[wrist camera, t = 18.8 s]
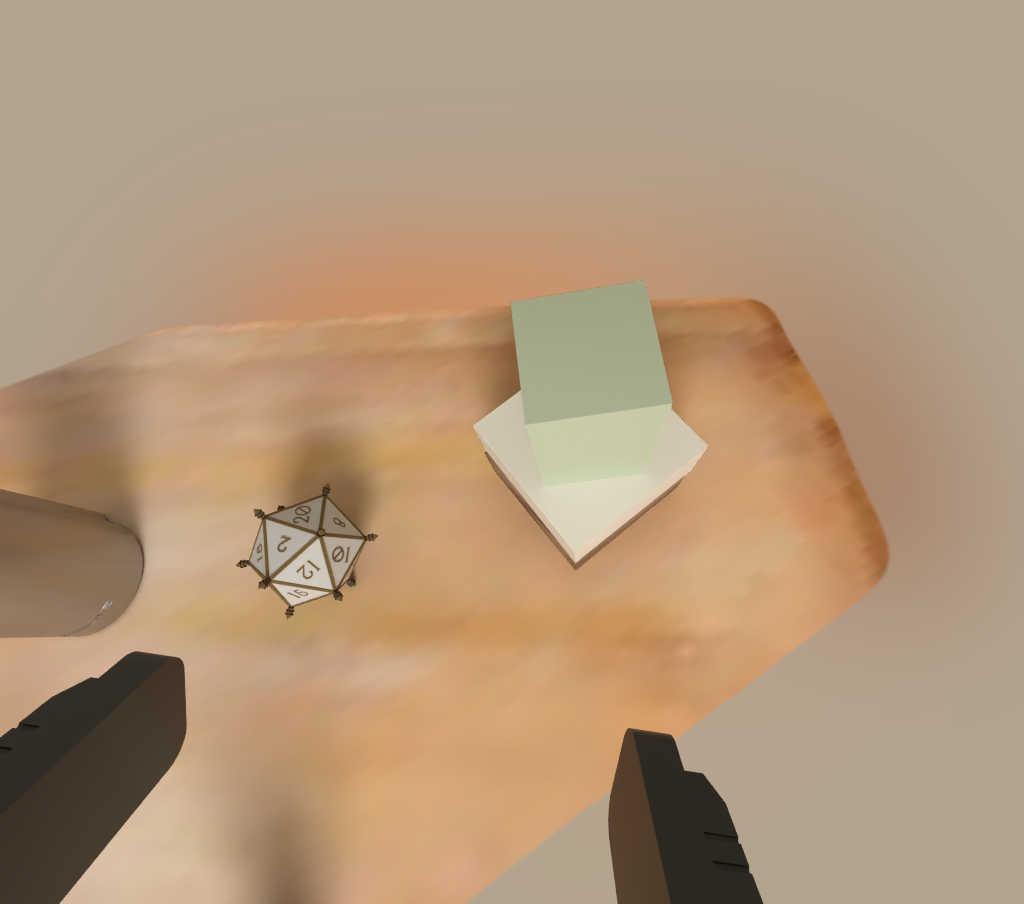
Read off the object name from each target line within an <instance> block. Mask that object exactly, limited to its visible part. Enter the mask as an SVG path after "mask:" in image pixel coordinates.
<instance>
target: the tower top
mask: <svg viewBox="0 0 1024 904" xmlns="http://www.w3.org/2000/svg"><path fill="white" fill-rule="evenodd" d="M473 427H474V429H475V431H476V433H477V435H478V437H479V438H480V440H481V442H482V444H483V446H484V448H485V450H486V452H487V453H488V454H489V455H490V457H491V458H492V459H493V460H494V462H495V463H496V464H497V465H498V467H499V468H500V469H501V470H502V472H503V473H504V474H505V475H506V477H507V478H508V479H509V480H510V482H511V483H512V484H513V485H514V487H515V488H516V489H517V490H518V492H519V493H520V494H521V495H522V497H523V498H524V499H525V500H526V502H527V503H528V504H529V505H530V507H531V508H532V509H533V511H534V512H535V513H536V514H537V516H538V517H539V518H540V519H541V521H542V522H543V523H544V524H545V526H546V527H547V528H548V529H549V531H550V532H551V533H552V534H553V536H554V537H555V538H556V539H557V541H558V542H559V543H560V544H561V546H562V547H563V548H564V549H565V551H566V552H567V553H568V554H569V556H570V557H571V558H572V559H573V561H574V562H575V563H576V562H577V561H579V560H580V559H581V558H582V557H584V556H585V555H586V554H587V553H589V552H590V551H591V550H592V549H594V548H595V547H596V546H597V545H599V544H600V543H601V542H602V541H604V540H605V539H606V538H607V537H609V536H610V535H611V534H612V533H614V532H615V531H616V530H617V529H619V528H620V527H621V526H622V525H624V524H625V523H626V522H627V521H629V520H630V519H631V518H632V517H634V516H635V515H636V514H637V513H639V512H640V511H641V510H642V509H644V508H645V507H646V506H647V505H649V504H650V503H651V502H652V501H654V500H655V499H656V498H657V497H659V496H660V495H661V494H662V493H664V492H665V491H666V490H667V489H669V488H670V487H671V486H672V485H674V484H675V483H676V482H677V481H679V480H680V479H681V478H682V477H684V476H685V475H686V474H687V473H689V472H690V471H691V470H692V468H693V467H694V466H695V464H696V463H697V461H698V460H699V458H700V457H701V456H702V454H703V453H704V451H705V450H706V449H707V447H708V445H707V444H706V443H705V442H704V441H703V440H702V439H701V438H700V437H699V436H698V435H697V434H696V433H695V432H694V431H693V430H692V429H691V428H690V427H689V426H688V425H687V424H686V423H685V422H684V421H683V420H682V419H681V418H680V417H679V416H678V415H677V414H676V413H675V412H674V411H673V410H672V409H670V412H669V414H668V417H667V419H666V422H665V424H664V427H663V429H662V432H661V434H660V437H659V439H658V442H657V444H656V447H655V449H654V452H653V454H652V457H651V459H650V462H649V464H648V467H647V469H646V472H645V473H643V474H635V475H628V476H620V477H613V478H605V479H598V480H590V481H583V482H575V483H568V484H560V485H553V486H545V487H543V486H542V483H541V479H540V476H539V472H538V469H537V465H536V462H535V458H534V455H533V451H532V447H531V444H530V440H529V437H528V433H527V430H526V426H525V420H524V411H523V403H522V395H521V390H520V391H519V392H518V393H516V394H515V395H514V396H512V397H511V398H510V399H508V400H507V401H506V402H504V403H503V404H502V405H500V406H499V407H498V408H496V409H495V410H494V411H492V412H491V413H490V414H488V415H487V416H486V417H484V418H483V419H482V420H480V421H479V422H478V423H476V424H475V425H474V426H473Z"/></svg>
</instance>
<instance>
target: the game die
mask: <svg viewBox="0 0 1024 904" xmlns="http://www.w3.org/2000/svg"><path fill="white" fill-rule="evenodd" d="M330 490H331V489H330V486H329V483H328V484H327V485H326V486H325V487H323V490H322V491H323V494H322V495H321V496H318V497H315V498H312V499H309V500H307V501H304V502H301V503H298V504H295V505H293V506H290V507H287V508H285V507H284V506H278V509H277V510H278V511H276V512H273V513H270V514H267V515H265V514H264V512H263V511H262V510H261V509H259V510H258V509H254V513H255V516H257V517H258V518H261V519H262V522H261V525H260V528H259V531H258V534H257V537H256V540H255V543H254V546H253V549H252V552H251V555H250V558H249V560H248V561H247V560H243V561H242V560H240V562H239V563H238V564H237V565H236V566H238V567H241V568H243V567H247V565H250V566H251V567H252V568H253V570H254V571H255V572H256V573H257V574H258V575H259V576H260V577H261V578H262V579H263V580H262V581H261V582H259V587H258V588H263V589H266V587H268V585H269V586H270V587H271V588H272V589H273V590H274V591H275V592H276V593H277V594H278V595H279V596H280V598H281V599H282V600H283V601H284V602H285V603H286V604H287V605H288V606H289V608H288V609H287V610H286V613H285V614H286V616H287V619H288V618H289V617H291V616H292V615H293V612H294V607H295V606H298V605H301V604H304V603H307V602H310V601H313V600H316V599H319V598H322V597H325V596H328V595H331V594H334V597H335V600H339V601H342V597H343V595H342V594H341V593H340V591H338V590H339V589H340V588H341V587H342V586H343V585H344V584H345V583H346V582H347V584H348V585H349V586H355V580H352V579H350V576H351V573H352V571H353V569H354V567H355V564H356V562H357V560H358V558H359V555H360V553H361V551H362V549H363V547H364V544H365V542H366V541H372V540H373V541H374V539H375V538H377V537H378V535H375V534H373V533H372V534H371V535H370V534H369V535H368V536H365V535H364V534H363V533H362V532H361V531H360V530H359V529H358V528H357V527H356V526H355V525H354V524H353V523H352V522H351V521H350V520H349V518H348V517H347V516H346V515H345V514H344V513H343V512H342V511H341V510H340V509H339V508H338V507H337V506H336V505H335V504H334V503H333V502H332V501H331V500H330V498H329V497H328V496H327V495H328V493H330V492H329V491H330Z"/></svg>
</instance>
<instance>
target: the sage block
mask: <svg viewBox="0 0 1024 904" xmlns="http://www.w3.org/2000/svg"><path fill="white" fill-rule="evenodd" d="M510 303H511V312H512V320H513V328H514V337H515V345H516V353H517V361H518V370H519V378H520V386H521V395H522V403H523V411H524V420H525V426H526V430H527V433H528V437H529V440H530V444H531V447H532V451H533V455H534V458H535V462H536V465H537V469H538V472H539V476H540V479H541V483H542V486H543V487H545V486H553V485H560V484H568V483H575V482H583V481H590V480H598V479H605V478H613V477H620V476H628V475H635V474H643V473H645V472H646V469H647V467H648V464H649V462H650V459H651V457H652V454H653V452H654V449H655V447H656V444H657V442H658V439H659V437H660V434H661V432H662V429H663V427H664V424H665V422H666V419H667V417H668V414H669V412H670V409H671V407H672V404H673V402H672V398H671V393H670V389H669V384H668V380H667V376H666V371H665V367H664V362H663V358H662V353H661V349H660V345H659V340H658V336H657V331H656V327H655V322H654V318H653V313H652V309H651V305H650V300H649V296H648V291H647V287H646V282H645V280H641V281H635V282H629V283H623V284H617V285H611V286H605V287H599V288H593V289H587V290H580V291H575V292H568V293H563V294H556V295H551V296H544V297H538V298H533V299H526V300H521V301H515V302H510Z"/></svg>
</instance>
